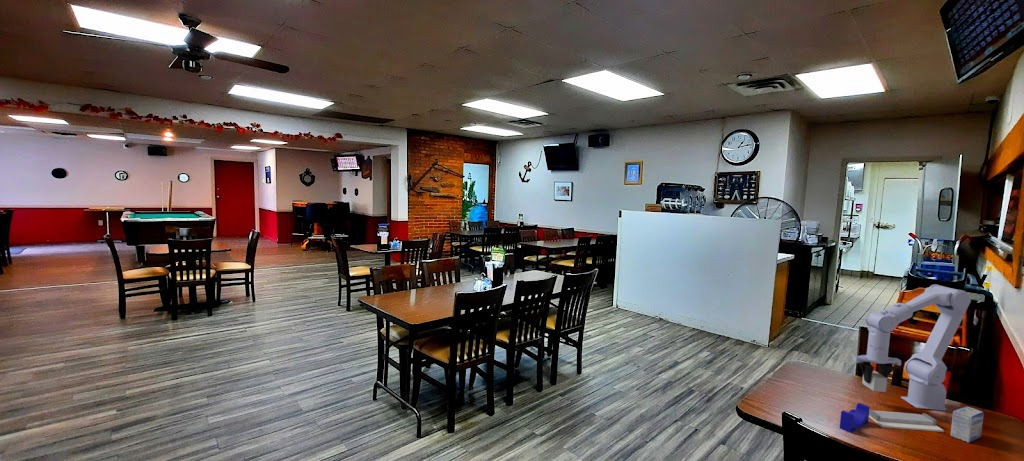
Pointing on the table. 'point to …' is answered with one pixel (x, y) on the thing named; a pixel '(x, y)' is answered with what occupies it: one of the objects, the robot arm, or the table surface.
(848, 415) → the cable clip
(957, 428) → the medicine box
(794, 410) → the table surface
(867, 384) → the block
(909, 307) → the robot arm
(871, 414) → the rail board
